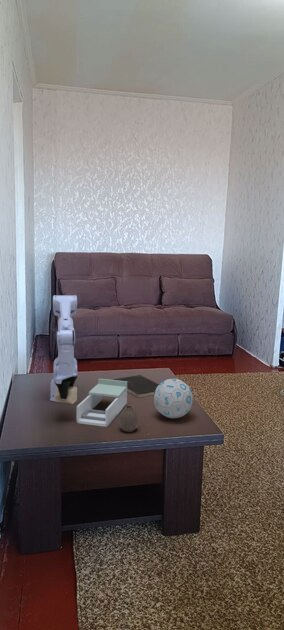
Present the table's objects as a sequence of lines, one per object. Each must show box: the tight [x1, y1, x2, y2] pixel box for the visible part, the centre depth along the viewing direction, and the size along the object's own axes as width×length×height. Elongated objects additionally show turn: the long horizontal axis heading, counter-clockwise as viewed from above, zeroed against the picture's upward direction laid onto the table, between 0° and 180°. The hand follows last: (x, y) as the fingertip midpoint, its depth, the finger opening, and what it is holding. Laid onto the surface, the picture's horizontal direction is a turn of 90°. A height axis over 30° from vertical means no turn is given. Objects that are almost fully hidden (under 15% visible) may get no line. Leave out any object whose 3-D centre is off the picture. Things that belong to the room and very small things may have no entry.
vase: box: [118, 405, 139, 433], centre depth 167 cm, size 7×7×9 cm
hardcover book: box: [112, 374, 160, 398], centre depth 215 cm, size 16×23×2 cm
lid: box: [88, 378, 127, 398], centre depth 188 cm, size 12×12×3 cm
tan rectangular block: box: [54, 386, 78, 405], centre depth 175 cm, size 7×4×5 cm, turn 75°
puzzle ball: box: [153, 378, 194, 419], centre depth 180 cm, size 15×15×15 cm
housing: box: [76, 389, 128, 428], centre depth 183 cm, size 12×26×6 cm, turn 166°
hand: (66, 396), depth 175 cm, fingers closed on tan rectangular block, 4 cm apart
